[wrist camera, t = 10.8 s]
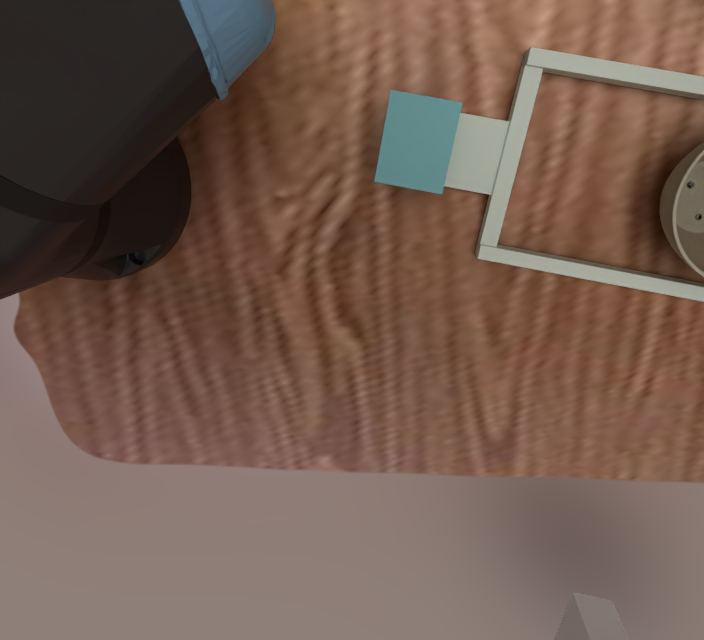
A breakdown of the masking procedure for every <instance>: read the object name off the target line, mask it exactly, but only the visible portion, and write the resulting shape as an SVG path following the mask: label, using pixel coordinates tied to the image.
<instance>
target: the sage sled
mask: <svg viewBox="0 0 704 640" xmlns="http://www.w3.org/2000/svg"><path fill="white" fill-rule="evenodd" d="M542 72H544V73H550V74H556V75H562V76H568V77H573V78H579V79H585V80H591V81H596V82H602V83H608V84H614V85H620V86H625V87H631V88H637V89H643V90H648V91H654V92H660V93H666V94H671V95H677V96H683V97H689V98H695V99H700V100H704V77H702V76H696V75H690V74H684V73H678V72H673V71H667V70H661V69H655V68H649V67H643V66H638V65H632V64H626V63H620V62H614V61H608V60H603V59H597V58H591V57H585V56H579V55H573V54H568V53H562V52H556V51H550V50H544V49H538V48H532V47H531V48H530V49H528V50H527V51H526V52H525V54H524V58H523V62H522V66H521V70H520V74H519V78H518V82H517V86H516V90H515V94H514V98H513V102H512V106H511V110H510V114H509V118H508V121H503V120H498V119H492V118H487V117H481V116H475V115H470V114H464V113H460V112H461V107H462V102H457V101H451V100H445V99H440V98H434V97H428V96H423V95H417V94H411V93H406V92H400V91H395V90H391V92H390V97H389V103H388V109H387V114H386V120H385V125H384V131H383V136H382V142H381V147H380V153H379V159H378V164H377V170H376V175H375V181H374V182H378V183H383V184H389V185H394V186H400V187H405V188H410V189H416V190H421V191H427V192H432V193H437V194H442V193H443V189H444V186H445V187H451V188H456V189H462V190H467V191H473V192H478V193H483V194H489V197H488V201H487V205H486V209H485V213H484V217H483V221H482V225H481V229H480V233H479V237H478V241H477V245H476V249H475V255H476V257H477V258H478V259H482V260H488V261H493V262H498V263H503V264H509V265H514V266H519V267H524V268H530V269H535V270H540V271H545V272H551V273H556V274H561V275H566V276H572V277H577V278H582V279H587V280H593V281H598V282H603V283H608V284H614V285H619V286H624V287H629V288H635V289H640V290H645V291H650V292H656V293H661V294H666V295H671V296H677V297H682V298H687V299H692V300H698V301H703V302H704V283H700V282H695V281H690V280H684V279H679V278H674V277H668V276H663V275H658V274H653V273H647V272H642V271H637V270H631V269H626V268H621V267H616V266H610V265H605V264H600V263H594V262H589V261H584V260H578V259H573V258H568V257H563V256H557V255H552V254H547V253H541V252H536V251H531V250H526V249H520V248H515V247H510V246H504V245H499V244H497V243H498V239H499V235H500V232H501V228H502V224H503V220H504V216H505V213H506V209H507V205H508V201H509V197H510V194H511V190H512V186H513V182H514V178H515V175H516V171H517V167H518V163H519V159H520V156H521V152H522V148H523V144H524V140H525V137H526V133H527V129H528V125H529V121H530V118H531V114H532V110H533V106H534V102H535V99H536V95H537V91H538V87H539V83H540V80H541V76H542Z"/></svg>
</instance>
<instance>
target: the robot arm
mask: <svg viewBox="0 0 704 640" xmlns="http://www.w3.org/2000/svg"><path fill="white" fill-rule="evenodd" d="M274 28H275V10H274V5H273V2H272V0H0V299H3V298H5V297H8V296H11V295H13V294H16V293H19V292H21V291H24V290H26V289H29V288H32V287H34V286H37V285H40V284H42V283H45V282H47V281H50V280H53V279H55V278H58V277H68V278H77V279H86V280H111V279H118V278H122V277H126V276H129V275H131V274H134V273H136V272H138V271H140V270H143V269H145V268H147V267H149V266H151V265H153V264H154V263H156V262H157V261H159V260H160V259H161V258H162V257H163V256H165V255H166V254H167V253H168V252H169V251H170V249H171V248H172V247H173V246H174V244H175V243H176V241H177V240H178V238H179V237H180V235H181V233H182V231H183V228H184V226H185V223H186V220H187V217H188V213H189V207H190V198H191V185H190V176H189V170H188V166H187V162H186V159H185V155H184V153H183V150H182V148H181V145H180V143H179V141H178V139H177V136H178V135H179V134H180V133H181V132H182V131H183V130H184V129H185V128H186V127H187V126H188V125H189V124H190V123H191V122H193V121H194V120H195V119H196V118H197V117H198V116H199V115H200V114H201V113H202V112H203V111H204V110H205V109H206V108H207V107H209V106H210V105H211V104H212V103H213V102H214V101H215V100H216V99H217V98H218V99H219V100H221V101H222V100H223V99H225V98H226V96H227V95H228V89H229V87H230V86H231V85H232V84H233V83H234V82H235V81H236V80H237V79H238V78H239V77H240V76H241V75H242V74H243V72H244V71H245V70H246V69H247V68H248V67H249V66H250V65H251V64H252V63H253V62H254V61H255V60H256V59H257V58H258V57H259V56H260V55H261V54H262V53H263V52H264V51H265V49H266V48H267V46H268V45H269V43H270V41H271V39H272V37H273V33H274ZM554 640H629V638H628V636H627V634H626V632H625V629H624V627H623V625H622V622H621V620H620V618H619V616H618V613H617V611H616V609H615V606H614V604H613V602H612V601H611V600H607V599H603V598H598V597H593V596H589V595H584V594H579V593H575V592H573V593H572V595H571V598H570V601H569V603H568V606H567V608H566V611H565V614H564V616H563V618H562V621H561V623H560V626H559V629H558V631H557V633H556V636H555V639H554Z"/></svg>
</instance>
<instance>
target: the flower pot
mask: <svg viewBox="0 0 704 640" xmlns="http://www.w3.org/2000/svg"><path fill="white" fill-rule="evenodd" d="M687 185H690V188H689V187H688V186H687ZM700 215H701V219H699V216H700ZM660 220H661V224H662V228H663V231H664V233H665V236H666V238H667V240H668V242H669V243H670V245H671V247H672V248H673V249H674V251H675V252H676V253H677V255H678V256H679V257H680V258H681V259H682V260H683V261H684V262H685V263H686V264H687V265H688V266H689V267H690V268H692V269H693V270H694V271H696V272H697V273H698V274H700V275H701V276H703V277H704V142H703V143H701V144H700V145H699V146H697V147H696V148H695V149H693V150H692V151H691V152H690V153H688V154H687V155H686V156H685V157H684V158H683V159H682V160H681V161H680V162H679V163H678V165H677V166H676V167H675V168H674V170H673V171H672V172H671V174H670V176H669V177H668V179H667V181H666V183H665V185H664V188H663V190H662V194H661V198H660Z"/></svg>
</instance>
